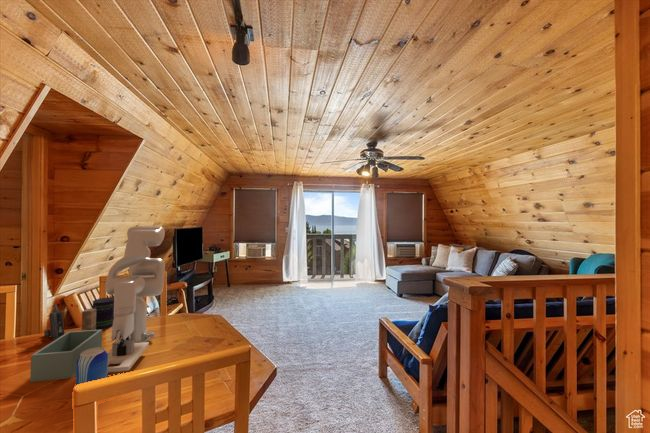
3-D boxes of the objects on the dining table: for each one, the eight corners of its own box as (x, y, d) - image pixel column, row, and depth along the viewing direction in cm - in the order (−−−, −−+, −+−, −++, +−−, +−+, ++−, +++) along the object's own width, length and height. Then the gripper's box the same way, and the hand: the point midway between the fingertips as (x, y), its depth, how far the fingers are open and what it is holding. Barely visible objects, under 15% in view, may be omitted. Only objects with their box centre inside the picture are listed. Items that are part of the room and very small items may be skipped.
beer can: (87, 390, 100) (89, 345, 100) (112, 389, 101) (113, 345, 101) (68, 406, 92) (69, 357, 92) (95, 405, 92) (96, 357, 93)
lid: (148, 345, 129) (149, 331, 129) (128, 370, 108) (129, 353, 108) (116, 347, 126) (117, 333, 126) (89, 374, 104) (89, 356, 104)
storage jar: (87, 328, 153) (88, 301, 154) (107, 322, 163) (108, 296, 163) (98, 331, 150) (99, 303, 150) (118, 325, 159) (119, 298, 159)
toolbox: (101, 351, 129) (102, 329, 129) (71, 377, 107) (72, 351, 107) (67, 353, 125) (68, 331, 125) (30, 382, 104) (31, 355, 104)
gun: (47, 306, 146) (62, 303, 140) (50, 339, 144) (65, 337, 138) (40, 308, 144) (55, 304, 138) (43, 341, 142) (58, 339, 136)
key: (95, 340, 139) (96, 308, 139) (90, 344, 135) (91, 311, 135) (86, 341, 138) (87, 308, 138) (81, 344, 134) (82, 311, 134)
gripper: (123, 304, 125) (121, 345, 125) (104, 317, 109) (103, 364, 109) (142, 303, 127) (140, 344, 127) (126, 315, 111) (125, 362, 111)
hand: (123, 353), depth 118 cm, fingers closed on lid, 3 cm apart
